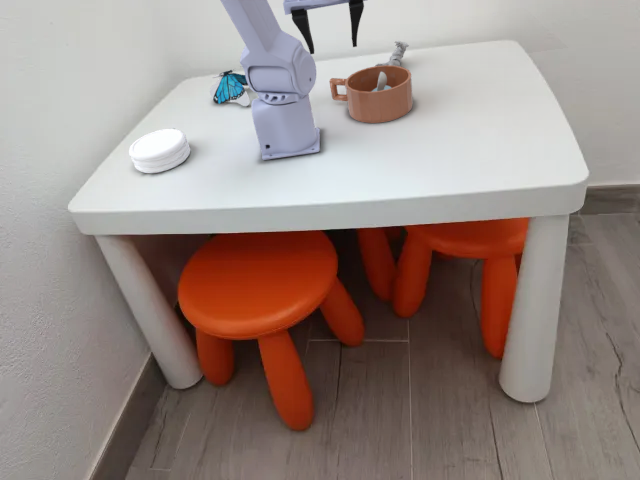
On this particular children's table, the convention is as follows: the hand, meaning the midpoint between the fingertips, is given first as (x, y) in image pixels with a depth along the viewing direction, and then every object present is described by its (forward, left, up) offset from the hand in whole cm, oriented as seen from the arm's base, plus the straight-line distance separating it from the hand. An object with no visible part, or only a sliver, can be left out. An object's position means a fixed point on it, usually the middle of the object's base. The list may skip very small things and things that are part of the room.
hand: (333, 48), depth 91 cm
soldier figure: (+11, +9, -10) cm, 17 cm away
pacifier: (+6, -7, -9) cm, 13 cm away
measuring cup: (+5, -6, -9) cm, 12 cm away
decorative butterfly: (-22, +9, -7) cm, 25 cm away
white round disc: (-32, -14, -10) cm, 36 cm away
